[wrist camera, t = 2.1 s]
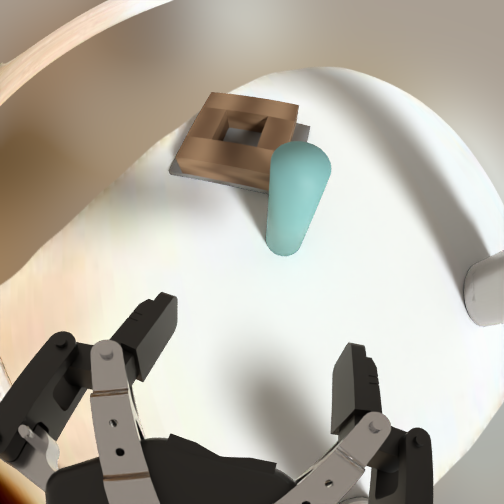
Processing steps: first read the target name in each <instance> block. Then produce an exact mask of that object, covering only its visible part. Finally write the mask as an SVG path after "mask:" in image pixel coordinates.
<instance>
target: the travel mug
mask: <svg viewBox="0 0 504 504" xmlns="http://www.w3.org/2000/svg"><path fill="white" fill-rule="evenodd" d="M368 500H369V499H368V498H364V497H357V498H352V499H348V500H346V501H343V502H341V503H340V504H368Z"/></svg>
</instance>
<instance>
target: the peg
mask: <svg viewBox="0 0 504 504" xmlns="http://www.w3.org/2000/svg"><path fill="white" fill-rule="evenodd" d="M330 174H331V163H330V161H329V158H328V157H327V155H326V154H325V153H324V152H323V151H322V150H321V149H320V148H318V147H317V146H315V145H313V144H310V143H307V142H302V141H293V142H288V143H285V144H283V145H281V146H279V147H278V148H277V149H276V150H275V151H274V153H273V154H272V157H271V164H270V181H269V198H268V214H267V230H266V243H267V246H268V247H269V249H270V250H271V251H272V252H273V253H275V254H277V255H280V256H289V255H292V254H294V253H295V252H297V251H298V249H299V248H300V246H301V244H302V241H303V239H304V237H305V235H306V232H307V230H308V228H309V225H310V223H311V221H312V218H313V216H314V213H315V211H316V209H317V206H318V204H319V201H320V199H321V197H322V194H323V192H324V189H325V187H326V184H327V182H328V179H329V177H330Z"/></svg>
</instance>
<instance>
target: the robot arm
mask: <svg viewBox="0 0 504 504" xmlns="http://www.w3.org/2000/svg"><path fill="white" fill-rule="evenodd" d="M464 298H465V304H466V308H467V311H468V313H469V316H470V317H471V319H472V320H473V321H474V322H475V323H476V324H477V325H479V326H483V327H485V326H491V325H497V324H503V323H504V250H503V251H501V252H499V253H497V254H495V255H492V256H490V257H488V258H486V259H484V260H482V261H480V262H478V263H476V264H474V265H473V266H472V267H471V268H470V269H469V271H468V273H467V275H466V279H465V284H464ZM176 326H177V297H176V296H173V295H170V294H167V293H164V292H161V293H160V294H159V295H158V296H157V297H156V298H155V300H154V301H153V300H150V299H148V300H146V301H144V302H142V303H140V304H139V305H138V306H137V307H136V309H135V310H134V311H133V312H132V313H131V315H130V316H129V318H127V319H126V321H125V322H124V323H123V324H122V325H121V327H120V328H119V329H118V330H117V331H116V333H115V334H114V335H113V336H112V337H111V339H110V340H102V341H99V342H97V343H96V344H95V345H89V344H83V343H78V342H76V340H75V338H74V336H73V335H72V334H71V333H69V332H65V331H61V332H57V333H55V334H53V335H52V336H51V337H50V338H49V339H48V341H47V342H46V343H45V344H44V345H43V347H42V348H41V349H40V350H39V351H38V353H37V354H36V355H35V356H34V358H33V359H32V360H31V361H30V363H29V364H28V365H27V366H26V368H25V369H24V370H23V372H22V373H21V374H20V376H19V377H18V378H17V380H16V381H15V382H14V384H13V385H12V386H11V388H10V389H9V391H8V392H7V393H6V395H5V396H4V398H3V399H2V401H1V402H0V459H2V460H3V461H4V462H6V463H7V464H9V465H10V466H12V467H14V468H15V469H17V470H18V471H19V472H21V473H22V474H23V475H24V476H25V477H27V478H28V479H29V480H30V481H32V482H33V483H34V484H35V485H37V486H38V487H39V488H41V489H42V490H43V491H45V495H46V504H337V503H338V502H339V501H340V500H341V498H342V497H343V496H344V495H345V494H346V493H347V492H348V491H349V490H350V489H351V488H352V487H353V485H354V484H355V483H356V482H357V481H358V480H359V478H360V477H361V476H362V475H363V473H364V472H365V469H364V468H365V466H369V467H372V469H371V481H370V491H369V500H368V504H433V462H432V447H431V439H430V436H429V434H428V433H427V432H426V431H425V430H424V429H422V428H413V429H411V430H410V431H409V432H405V431H402V430H400V429H397V428H394V427H392V426H391V424H390V421H389V419H388V418H387V417H386V416H385V415H383V414H382V407H381V397H380V389H379V386H378V384H379V381H378V378H377V377H378V374H377V367H376V365H375V363H374V362H373V360H372V358H369V357H366V351H365V346H364V345H359V344H354V343H348V344H347V345H346V347H345V348H344V350H343V352H342V354H341V355H340V357H339V359H338V360H337V362H336V364H335V366H334V370H333V378H332V417H331V434H335V435H339V437H338V441H337V442H336V443H335V444H334V445H333V446H332V447H331V448H330V449H329V450H328V451H327V452H326V453H325V454H324V455H323V456H322V457H321V458H320V459H319V460H318V461H317V462H316V463H315V464H313V465H312V466H311V467H310V468H309V469H308V470H307V471H305V472H304V473H303V474H302V475H300V476H299V477H298V478H297V479H295V480H293V479H291V478H290V477H289V476H288V475H286V474H285V473H283V472H282V471H280V470H278V469H275V468H276V463H274V462H269V461H264V460H259V459H254V458H238V457H221V456H219V455H217V454H215V453H213V452H211V451H210V450H208V449H206V448H204V447H203V446H201V445H199V444H198V443H196V442H193V441H190V440H187V439H184V438H182V437H179V436H176V435H174V434H170V436H169V438H149V439H146V438H145V434H144V431H143V428H142V425H141V422H140V418H139V414H138V410H137V406H136V401H135V397H134V392H133V387H132V384H133V383H134V381H135V380H136V379H137V380H139V381H141V382H144V380H145V379H146V377H147V375H148V374H149V372H150V370H151V369H152V367H153V365H154V364H155V362H156V361H157V359H158V357H159V356H160V354H161V352H162V351H163V349H164V348H165V346H166V344H167V343H168V341H169V340H170V338H171V336H172V335H173V333H174V331H175V329H176ZM87 389H92V390H93V393H91V395H90V402H91V411H92V418H93V425H94V432H95V438H96V443H97V448H98V453H99V457H96V458H93V459H90V460H87V461H84V462H81V463H78V464H75V465H71V466H68V467H65V468H61V469H58V463H57V462H58V459H59V453H60V452H59V446H58V444H57V442H56V441H57V439H58V437H59V436H60V434H61V432H62V430H63V429H64V427H65V425H66V423H67V422H68V420H69V418H70V417H71V415H72V413H73V412H74V410H75V408H76V407H77V405H78V403H79V402H80V400H81V398H82V397H83V395H84V393H85V392H86V390H87Z"/></svg>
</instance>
